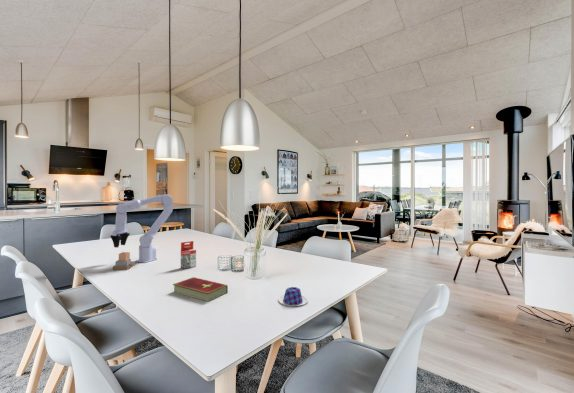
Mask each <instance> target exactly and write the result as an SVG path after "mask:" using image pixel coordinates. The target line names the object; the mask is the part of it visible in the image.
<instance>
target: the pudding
mask: <svg viewBox="0 0 574 393" xmlns="http://www.w3.org/2000/svg"><path fill="white" fill-rule="evenodd" d="M284 292H285V293H284V294H283V295H282V296H280V297H279V298H278V302H279V303H280V304H282V305H284V306H288V307H299V306H303V305H306V304H307V303H308V298H307V297H305V296H304V295H302V291H301V288H299V287H296V286H291V287H287V288H286V289H285V291H284Z"/></svg>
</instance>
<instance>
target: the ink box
mask: <svg viewBox="0 0 574 393" xmlns="http://www.w3.org/2000/svg"><path fill="white" fill-rule="evenodd" d="M195 267H197V250H196V249H195V248H194V241H193V240H191V241H183V242H180V268H181V269H183V270H185V269H188V268H195Z"/></svg>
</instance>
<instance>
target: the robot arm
mask: <svg viewBox="0 0 574 393" xmlns="http://www.w3.org/2000/svg"><path fill="white" fill-rule="evenodd" d="M152 203H160V204H161V205H162V207H163V211H162V212H161V214H159V216H158V217H157V218H156V220H155V221H154V223H153V224H151V226H150V228H148V230H147V231H146V232H144V234H143V235H141V236H140V237H139V244H140V245H138V259H136V260H135V262H139V263H149V262H152V261H156V260H157V259H158V258H157V248H156V246H155V245H154V244H152V241H153V240H154V237H155V235H156V234H157V233H158V232H159V230H160V229H161V227H162V226H163V225H164V224H165V222H166V221H167V219H168V218H169V217H170V215H171V214H172V213H173V211H174V210H173V209H174V200H173V197H172V195H170V194H166V193H164V194H159V195H154V196H150V197H148V198H145V199H144V198H143V199H141V200H140V199H138V198H136V199H135V198H132V200H129V201H124V202H123V203H118V204H117V205H116V208H115V210H116V213H115V214H116V215H115V224H114V225H115V226H114V227H115V229H114V230H112V233H111V235H110V238H111V241H112V243H113V247H114V248H119V246H126V243H127V241H128V239H129V236H130V232H129V229H127V221H128V215H127V212H130V211H131V212H132V211H134V210H138V209H141V207H142V206H144V205H148V204H152Z"/></svg>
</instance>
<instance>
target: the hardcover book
mask: <svg viewBox="0 0 574 393" xmlns="http://www.w3.org/2000/svg"><path fill="white" fill-rule="evenodd" d="M172 286H173V289H174V293H175V294H176V293H177V294H181V295H184V296H188V297H192V298H195V299H198V300H201V301H204V302H209V301H212V300H214V299H216V298H218V297H220V296H222V295H224V294H227V293H228V289H229V288H228V284H226V283H225V284H224V283H220V282H216V281H211V280H206V279H202V278H198V277H194V276H193V277H189V278H188V279H184V280H181V281H178V282H176V283H173V284H172Z"/></svg>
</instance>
